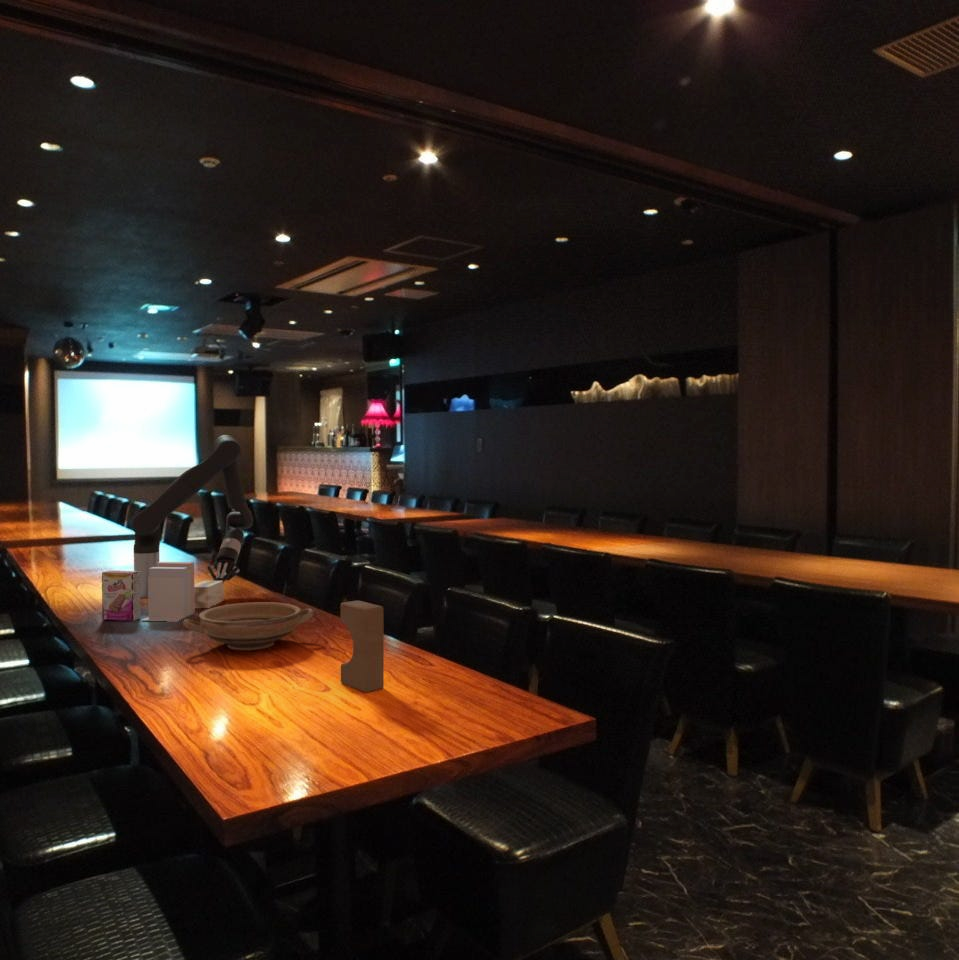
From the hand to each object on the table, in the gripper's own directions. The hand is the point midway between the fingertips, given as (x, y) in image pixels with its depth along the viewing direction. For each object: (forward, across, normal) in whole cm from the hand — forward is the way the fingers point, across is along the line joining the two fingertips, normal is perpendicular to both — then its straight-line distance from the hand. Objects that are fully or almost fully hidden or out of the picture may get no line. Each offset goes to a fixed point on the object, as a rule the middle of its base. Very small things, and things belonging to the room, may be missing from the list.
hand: (217, 588), depth 300 cm
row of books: (+26, -4, -20) cm, 33 cm away
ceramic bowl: (+51, +37, -44) cm, 77 cm away
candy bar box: (+30, -18, -23) cm, 42 cm away
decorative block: (+77, +78, -71) cm, 130 cm away
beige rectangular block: (+11, 0, -4) cm, 11 cm away
